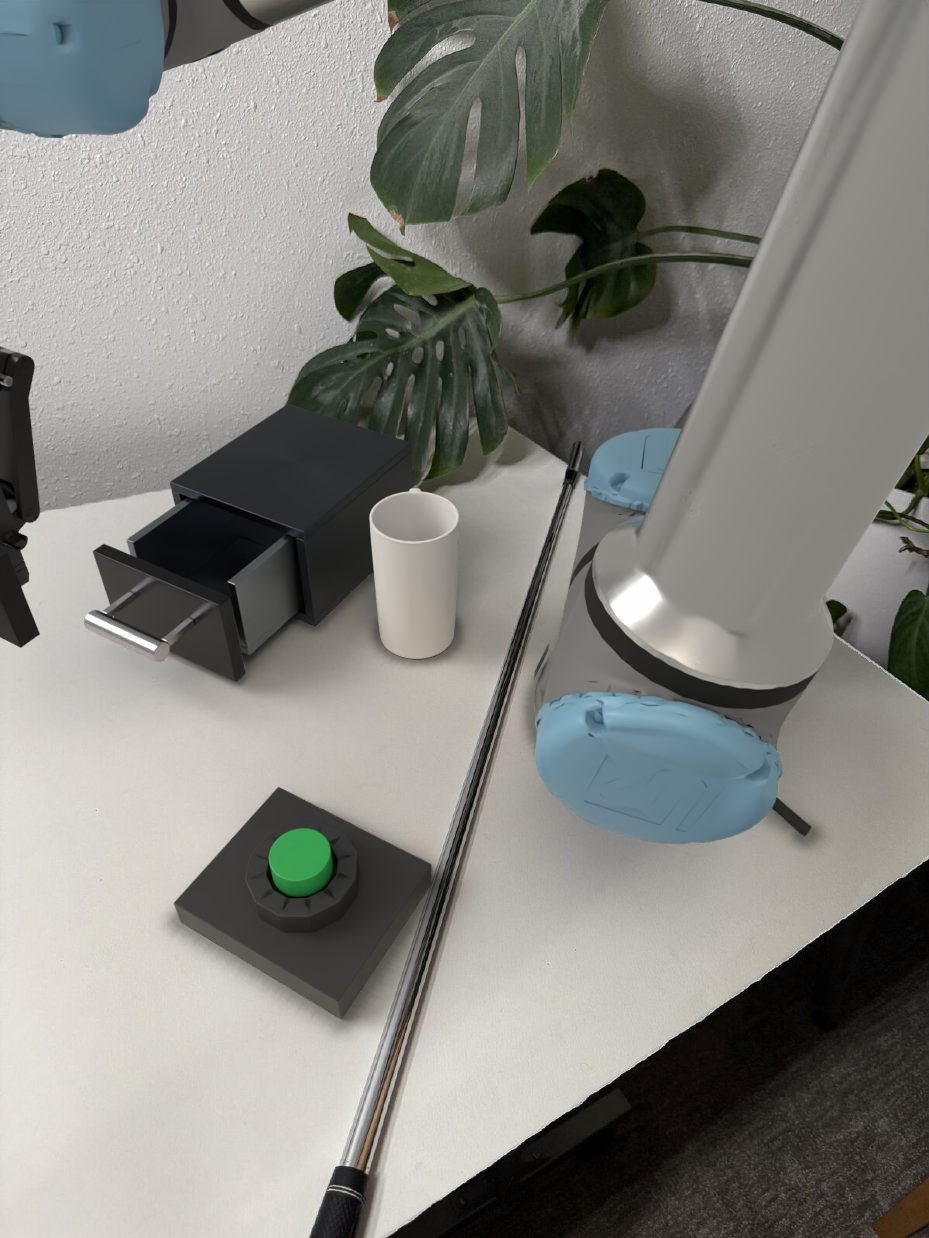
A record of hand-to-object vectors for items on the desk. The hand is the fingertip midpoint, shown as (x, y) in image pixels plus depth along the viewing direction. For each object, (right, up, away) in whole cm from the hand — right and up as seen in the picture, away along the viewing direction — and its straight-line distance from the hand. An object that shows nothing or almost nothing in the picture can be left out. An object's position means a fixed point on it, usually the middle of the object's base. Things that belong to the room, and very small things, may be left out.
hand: (15, 633), depth 56 cm
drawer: (+8, +1, +18) cm, 19 cm away
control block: (+19, -17, -1) cm, 25 cm away
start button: (+19, -14, -3) cm, 24 cm away
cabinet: (+14, +7, +26) cm, 30 cm away
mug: (+24, +1, +19) cm, 31 cm away
